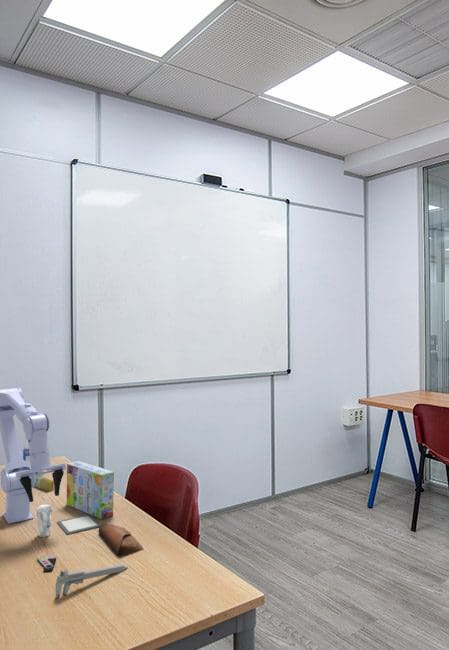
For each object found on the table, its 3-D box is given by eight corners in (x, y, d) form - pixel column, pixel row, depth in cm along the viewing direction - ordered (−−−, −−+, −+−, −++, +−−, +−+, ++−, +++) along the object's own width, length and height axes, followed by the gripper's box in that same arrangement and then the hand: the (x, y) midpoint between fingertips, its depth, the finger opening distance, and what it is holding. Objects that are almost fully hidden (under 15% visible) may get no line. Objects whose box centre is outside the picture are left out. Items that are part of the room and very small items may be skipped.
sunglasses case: (146, 549, 146) (135, 532, 144) (126, 567, 142) (115, 550, 140) (123, 527, 161) (113, 512, 159) (105, 543, 158) (94, 527, 156)
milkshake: (49, 539, 152) (49, 506, 152) (33, 537, 154) (33, 504, 153) (57, 532, 157) (57, 500, 157) (41, 531, 158) (41, 499, 158)
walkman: (23, 477, 211) (23, 448, 211) (24, 475, 214) (24, 447, 214) (42, 476, 213) (42, 447, 213) (43, 474, 216) (43, 446, 216)
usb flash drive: (52, 573, 133) (52, 569, 133) (31, 575, 132) (31, 571, 132) (57, 557, 141) (57, 554, 141) (37, 559, 140) (37, 555, 140)
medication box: (31, 486, 201) (31, 476, 201) (37, 484, 203) (37, 474, 203) (48, 492, 194) (47, 482, 194) (54, 490, 196) (54, 480, 196)
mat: (56, 522, 164) (56, 521, 164) (89, 515, 171) (89, 514, 171) (66, 534, 155) (66, 533, 155) (101, 526, 161) (101, 525, 161)
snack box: (114, 515, 171) (114, 471, 171) (101, 520, 167) (101, 475, 167) (78, 500, 185) (78, 459, 185) (65, 505, 180) (65, 463, 180)
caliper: (57, 599, 120) (57, 573, 120) (55, 598, 121) (55, 572, 121) (128, 569, 135) (128, 546, 135) (126, 567, 136) (126, 544, 136)
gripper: (17, 457, 149) (22, 505, 147) (66, 448, 157) (71, 493, 155) (12, 458, 155) (17, 504, 153) (60, 449, 163) (65, 492, 161)
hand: (44, 498), depth 154 cm, fingers open, 7 cm apart
